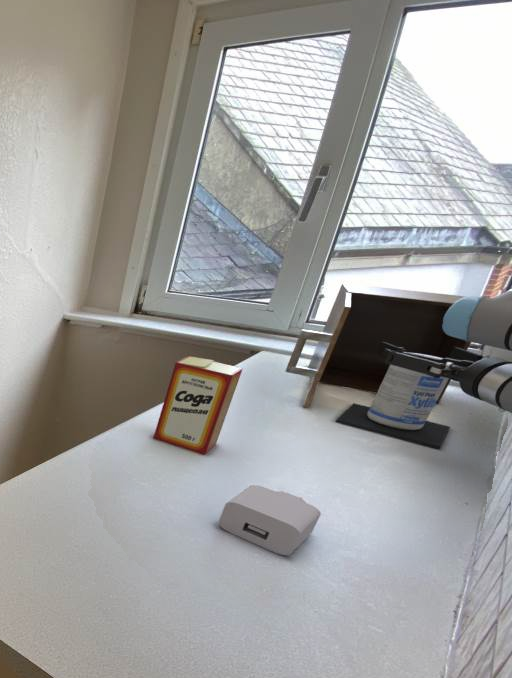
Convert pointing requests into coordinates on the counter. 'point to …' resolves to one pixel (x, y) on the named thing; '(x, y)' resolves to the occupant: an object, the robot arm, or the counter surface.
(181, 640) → the counter surface
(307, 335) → the cupboard door
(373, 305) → the cupboard
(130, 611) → the counter surface
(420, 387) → the supplement tub
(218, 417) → the baking soda box
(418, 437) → the mat
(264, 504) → the charger
